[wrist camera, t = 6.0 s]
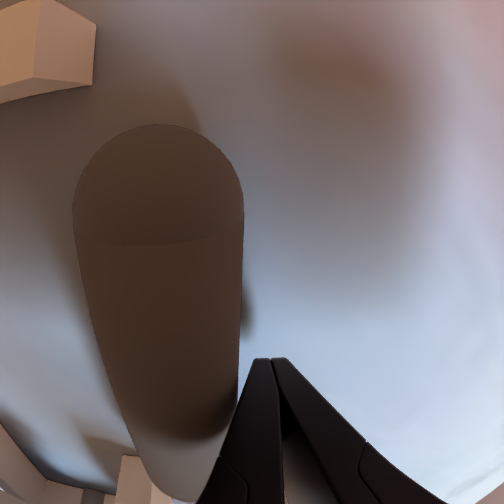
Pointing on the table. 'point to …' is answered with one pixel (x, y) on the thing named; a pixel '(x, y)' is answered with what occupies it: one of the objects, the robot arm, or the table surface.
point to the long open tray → (24, 85)
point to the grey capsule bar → (165, 293)
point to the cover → (9, 499)
